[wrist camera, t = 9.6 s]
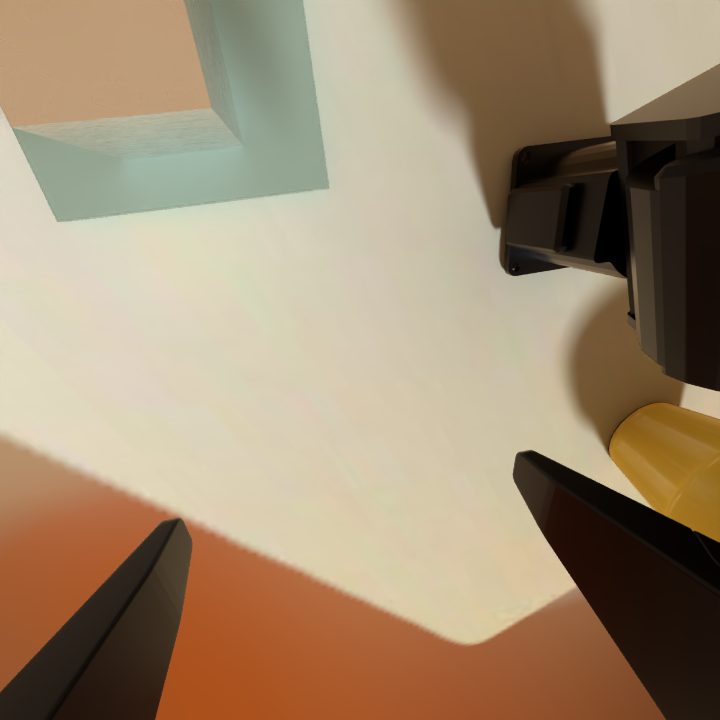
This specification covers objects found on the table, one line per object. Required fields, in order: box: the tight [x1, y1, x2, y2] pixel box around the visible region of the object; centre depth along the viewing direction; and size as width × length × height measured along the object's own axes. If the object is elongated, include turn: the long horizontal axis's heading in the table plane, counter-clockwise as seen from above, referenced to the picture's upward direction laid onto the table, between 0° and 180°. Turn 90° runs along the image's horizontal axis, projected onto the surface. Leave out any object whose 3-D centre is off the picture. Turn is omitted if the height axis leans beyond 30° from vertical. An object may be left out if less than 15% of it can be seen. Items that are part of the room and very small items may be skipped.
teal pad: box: [12, 0, 329, 222], centre depth 13 cm, size 12×9×1 cm
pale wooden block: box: [0, 0, 244, 159], centre depth 10 cm, size 5×5×6 cm
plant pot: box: [609, 403, 720, 542], centre depth 24 cm, size 10×10×10 cm
